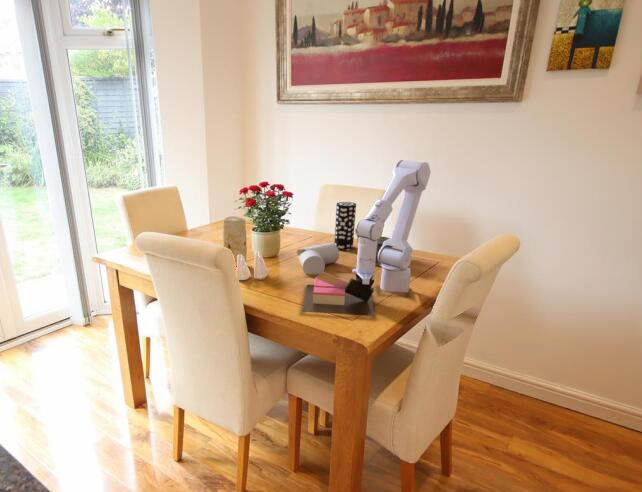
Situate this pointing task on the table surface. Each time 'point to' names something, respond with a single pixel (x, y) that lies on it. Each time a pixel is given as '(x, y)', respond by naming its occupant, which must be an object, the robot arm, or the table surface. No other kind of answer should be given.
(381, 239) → the ceramic cup
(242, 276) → the shaker set
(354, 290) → the grey and black bar
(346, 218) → the spotted tube
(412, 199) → the robot arm
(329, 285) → the cake
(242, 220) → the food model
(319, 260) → the bent grey cylinder
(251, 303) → the table surface
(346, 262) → the table surface
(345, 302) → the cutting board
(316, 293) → the cake slice
